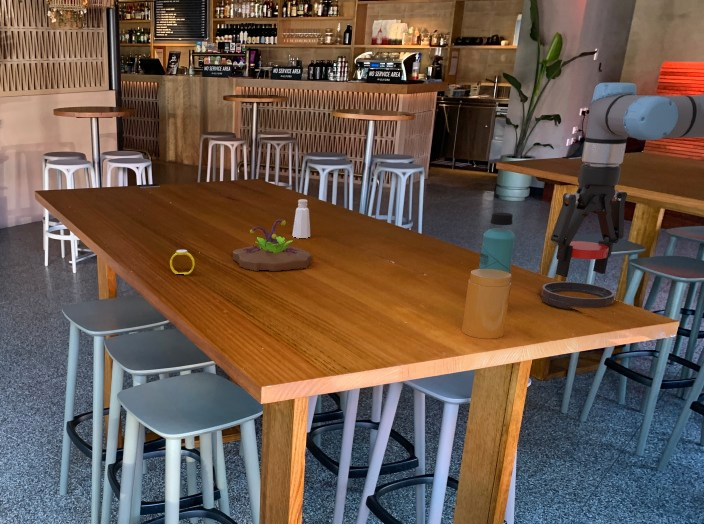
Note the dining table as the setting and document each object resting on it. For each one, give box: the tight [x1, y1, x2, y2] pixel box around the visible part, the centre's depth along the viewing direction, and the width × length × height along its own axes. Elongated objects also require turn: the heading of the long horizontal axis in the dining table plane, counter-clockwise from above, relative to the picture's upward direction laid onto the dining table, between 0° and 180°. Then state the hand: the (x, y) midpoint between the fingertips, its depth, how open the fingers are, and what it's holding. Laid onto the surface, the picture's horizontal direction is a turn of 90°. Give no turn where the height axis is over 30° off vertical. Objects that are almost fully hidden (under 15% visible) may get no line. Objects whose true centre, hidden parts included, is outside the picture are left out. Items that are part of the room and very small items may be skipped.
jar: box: [461, 268, 513, 340], centre depth 150 cm, size 8×8×12 cm
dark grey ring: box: [539, 281, 616, 312], centre depth 170 cm, size 14×14×3 cm
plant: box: [232, 218, 312, 272], centre depth 205 cm, size 20×20×11 cm
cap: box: [570, 240, 609, 260], centre depth 166 cm, size 9×9×2 cm
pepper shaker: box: [291, 198, 311, 239], centre depth 235 cm, size 5×5×11 cm
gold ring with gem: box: [169, 249, 196, 276], centre depth 194 cm, size 6×3×6 cm, turn 83°
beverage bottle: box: [478, 211, 516, 274], centre depth 163 cm, size 6×7×20 cm
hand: (580, 273), depth 168 cm, fingers closed on cap, 9 cm apart
